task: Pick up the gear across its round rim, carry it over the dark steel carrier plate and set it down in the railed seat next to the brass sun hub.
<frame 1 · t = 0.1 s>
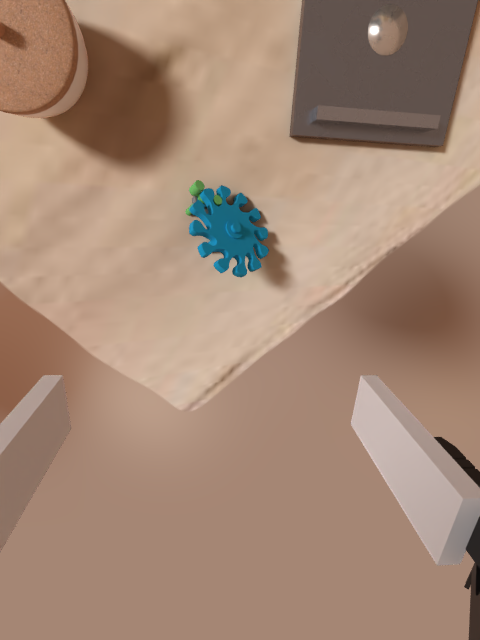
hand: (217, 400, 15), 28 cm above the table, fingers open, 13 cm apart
lidded jar: (46, 66, 32), on the table
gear: (226, 224, 39), on the table
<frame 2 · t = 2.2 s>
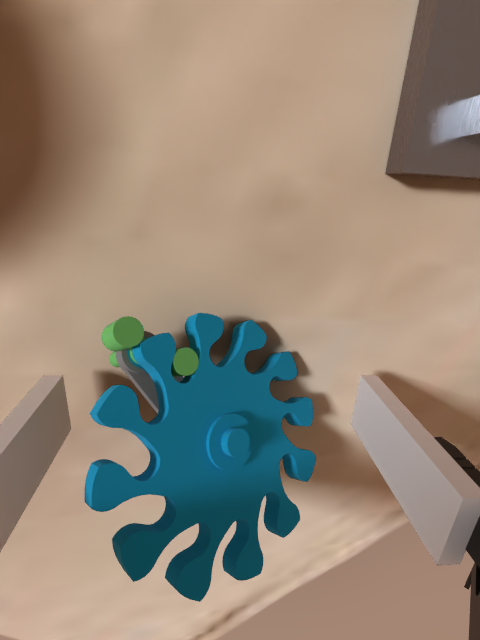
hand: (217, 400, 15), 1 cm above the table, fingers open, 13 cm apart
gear: (212, 376, 16), on the table
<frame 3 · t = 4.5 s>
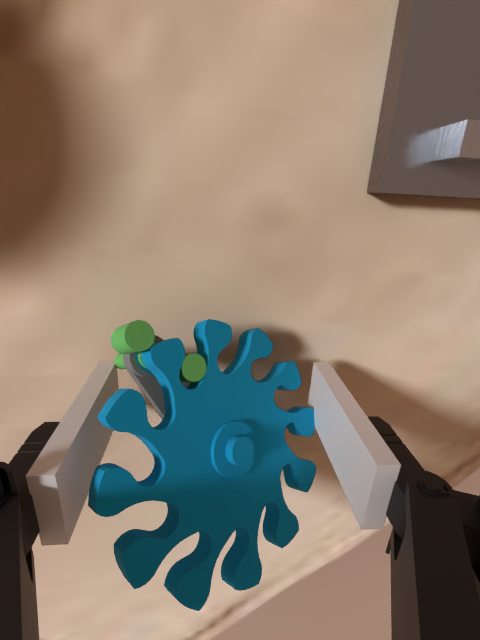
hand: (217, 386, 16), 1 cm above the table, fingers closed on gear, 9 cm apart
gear: (215, 382, 16), point 1 cm above the table, touching gripper
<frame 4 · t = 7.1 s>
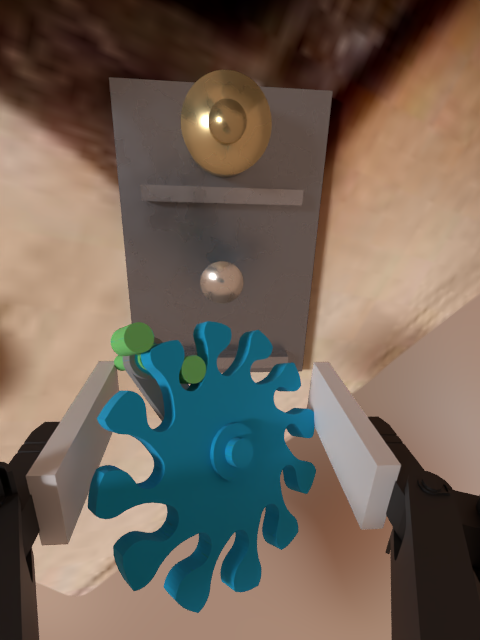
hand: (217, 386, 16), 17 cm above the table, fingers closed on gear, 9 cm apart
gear: (215, 384, 16), point 17 cm above the table, touching gripper
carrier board: (221, 248, 31), on the table
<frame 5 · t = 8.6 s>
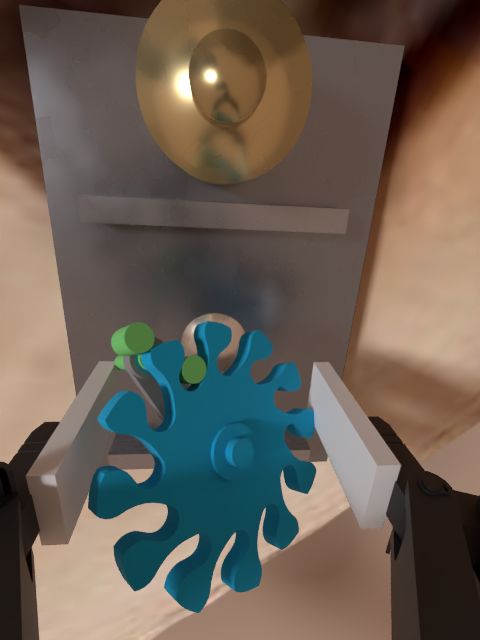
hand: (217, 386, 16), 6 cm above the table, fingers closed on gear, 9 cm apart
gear: (215, 384, 16), point 5 cm above the table, touching gripper
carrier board: (215, 291, 20), on the table
when the fingers open (2 cm above the table, at t = 9.7 s): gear stays where it is, resting on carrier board.
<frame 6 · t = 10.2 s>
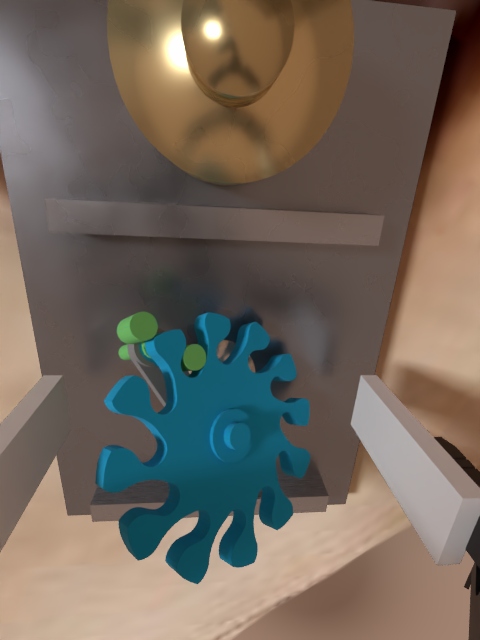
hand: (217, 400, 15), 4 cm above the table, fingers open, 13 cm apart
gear: (215, 374, 17), point 1 cm above the table, touching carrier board
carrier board: (217, 311, 17), on the table
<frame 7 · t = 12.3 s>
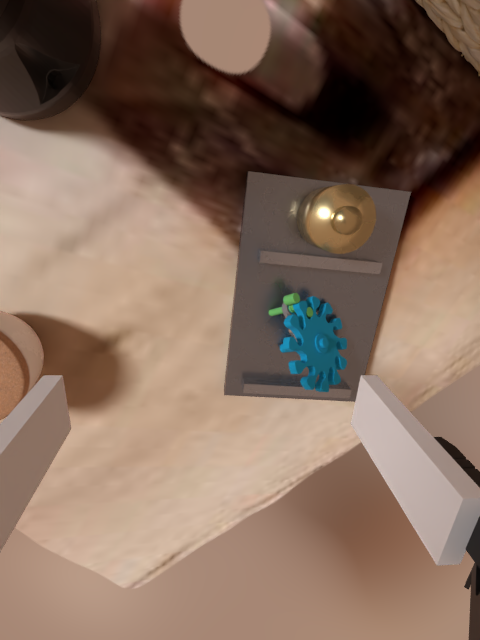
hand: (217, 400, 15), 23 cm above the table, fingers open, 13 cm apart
lidded jar: (10, 342, 37), on the table
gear: (304, 326, 38), point 1 cm above the table, touching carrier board
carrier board: (307, 298, 38), on the table
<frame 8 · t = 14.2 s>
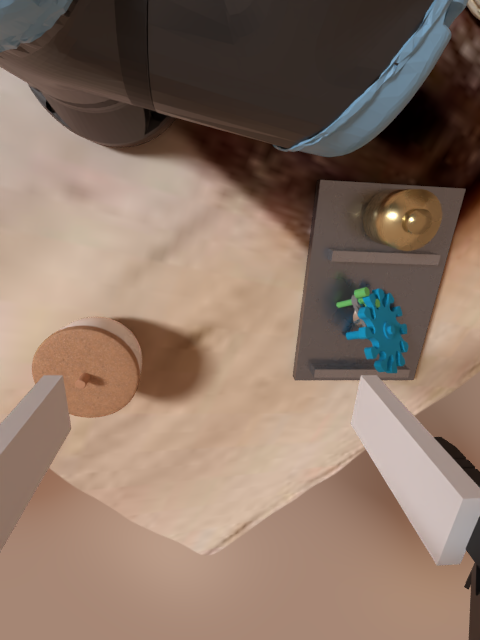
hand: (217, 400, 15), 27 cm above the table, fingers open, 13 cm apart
lidded jar: (107, 343, 42), on the table
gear: (367, 315, 43), point 1 cm above the table, touching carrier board
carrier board: (368, 290, 42), on the table
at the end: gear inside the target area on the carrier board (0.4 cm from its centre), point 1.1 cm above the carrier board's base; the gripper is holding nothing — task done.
